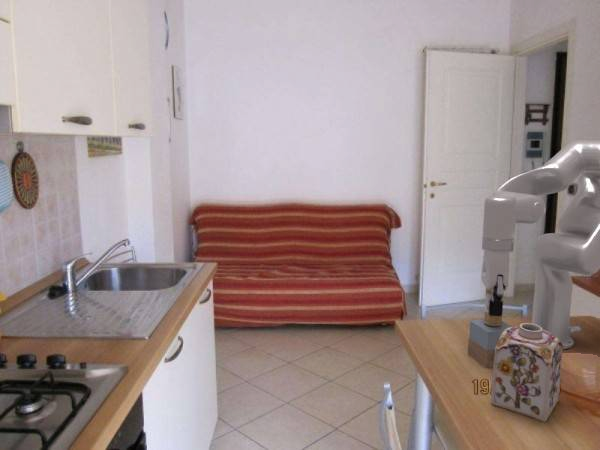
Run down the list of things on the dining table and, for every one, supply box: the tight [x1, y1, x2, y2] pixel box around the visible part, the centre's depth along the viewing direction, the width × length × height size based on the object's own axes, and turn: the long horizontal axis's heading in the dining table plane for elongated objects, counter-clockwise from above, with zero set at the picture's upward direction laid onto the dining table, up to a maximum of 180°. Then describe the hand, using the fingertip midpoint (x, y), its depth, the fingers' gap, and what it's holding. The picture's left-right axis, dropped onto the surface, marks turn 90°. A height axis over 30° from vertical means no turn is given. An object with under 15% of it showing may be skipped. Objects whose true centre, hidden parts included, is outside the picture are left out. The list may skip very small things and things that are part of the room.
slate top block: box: [468, 318, 512, 350], centre depth 131 cm, size 8×8×5 cm
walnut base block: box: [467, 338, 495, 369], centre depth 132 cm, size 8×8×5 cm
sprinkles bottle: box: [483, 283, 504, 326], centre depth 129 cm, size 5×5×13 cm
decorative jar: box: [490, 322, 564, 423], centre depth 109 cm, size 12×12×18 cm
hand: (493, 311), depth 130 cm, fingers closed on sprinkles bottle, 4 cm apart
